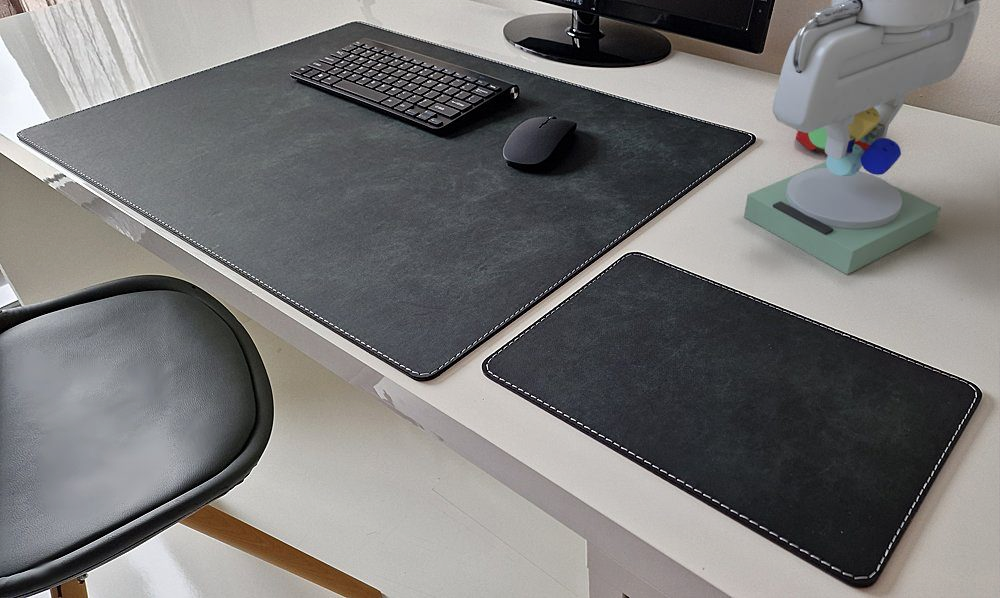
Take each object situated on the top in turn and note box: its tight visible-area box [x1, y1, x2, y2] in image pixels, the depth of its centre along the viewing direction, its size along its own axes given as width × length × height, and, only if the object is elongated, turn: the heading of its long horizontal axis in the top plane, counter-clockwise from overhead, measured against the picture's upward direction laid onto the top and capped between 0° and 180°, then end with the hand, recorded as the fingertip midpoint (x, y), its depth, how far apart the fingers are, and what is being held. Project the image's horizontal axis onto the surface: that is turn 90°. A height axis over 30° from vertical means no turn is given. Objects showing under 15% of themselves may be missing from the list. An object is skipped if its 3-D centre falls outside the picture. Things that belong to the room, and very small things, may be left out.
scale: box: [743, 161, 941, 275], centre depth 74 cm, size 12×12×3 cm
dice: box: [808, 107, 902, 176], centre depth 70 cm, size 8×3×6 cm, turn 44°
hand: (854, 148), depth 70 cm, fingers closed on dice, 3 cm apart
